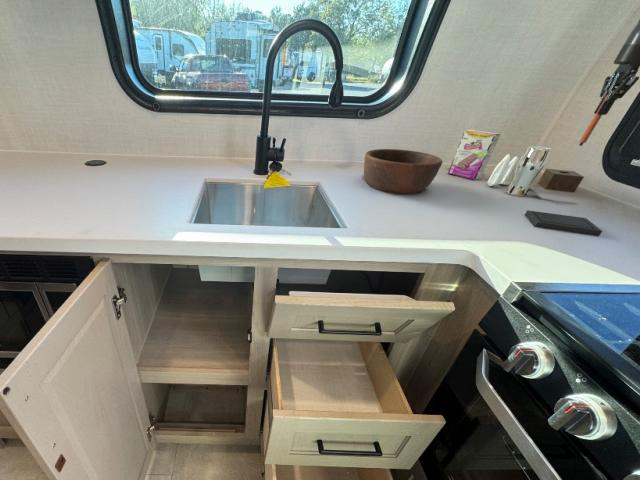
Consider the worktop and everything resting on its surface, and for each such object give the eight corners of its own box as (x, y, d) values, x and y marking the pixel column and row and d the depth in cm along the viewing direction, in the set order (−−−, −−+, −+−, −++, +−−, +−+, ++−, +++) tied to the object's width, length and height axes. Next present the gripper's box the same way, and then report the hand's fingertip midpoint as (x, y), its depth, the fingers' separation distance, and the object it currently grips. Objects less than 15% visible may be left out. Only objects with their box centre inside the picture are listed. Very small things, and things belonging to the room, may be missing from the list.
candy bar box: (446, 174, 132) (464, 130, 122) (452, 172, 134) (470, 129, 124) (474, 180, 124) (495, 134, 114) (480, 179, 126) (501, 133, 117)
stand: (561, 191, 115) (574, 171, 111) (570, 197, 109) (584, 176, 105) (535, 188, 118) (546, 168, 113) (542, 194, 111) (554, 173, 107)
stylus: (582, 145, 104) (612, 95, 96) (584, 146, 103) (615, 95, 95) (576, 144, 105) (605, 95, 97) (578, 145, 104) (608, 95, 95)
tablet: (582, 223, 90) (586, 218, 89) (598, 236, 82) (602, 231, 82) (524, 214, 94) (527, 210, 93) (534, 227, 87) (537, 221, 86)
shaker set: (493, 189, 115) (509, 156, 109) (482, 186, 118) (496, 154, 112) (510, 185, 120) (527, 153, 114) (499, 182, 123) (514, 151, 117)
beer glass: (503, 189, 115) (526, 144, 106) (527, 193, 112) (552, 147, 103) (503, 194, 111) (527, 147, 102) (527, 198, 107) (554, 150, 98)
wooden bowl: (411, 177, 127) (420, 149, 120) (445, 197, 106) (458, 165, 100) (350, 176, 126) (356, 148, 120) (373, 196, 106) (382, 164, 99)
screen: (580, 220, 89) (581, 218, 89) (592, 230, 83) (593, 228, 83) (532, 214, 92) (534, 212, 92) (541, 223, 87) (542, 221, 86)
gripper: (676, 41, 82) (626, 117, 92) (646, 45, 92) (604, 113, 103) (638, 41, 85) (594, 115, 95) (613, 45, 95) (576, 111, 105)
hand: (599, 114), depth 99 cm, fingers closed on stylus, 1 cm apart
